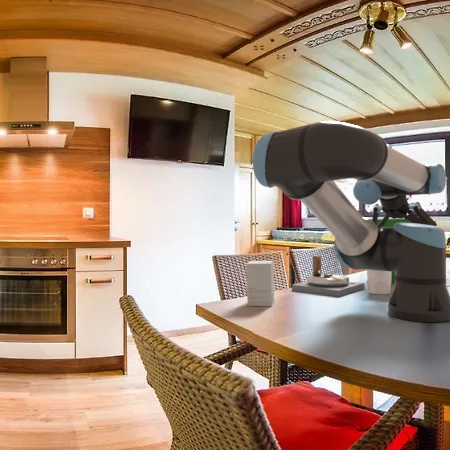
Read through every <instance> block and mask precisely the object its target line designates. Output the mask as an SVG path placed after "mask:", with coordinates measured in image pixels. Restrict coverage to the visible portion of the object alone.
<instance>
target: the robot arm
mask: <svg viewBox="0 0 450 450" xmlns="http://www.w3.org/2000/svg"><path fill="white" fill-rule="evenodd" d="M252 153H253V154H252V158H251V160H252V169H253V173H254V176H255V178H256V180H257V181H258V184H260V185H261V186H263V187H266V188H269V189H270V188H271V189H272V188H273V187H276V188H278V189H279V190H280V191H281V192H282V193H283V194H284V195H285V196H286V197H287V198H289V199H290V200H295V201H301V203H302V204H303V205H304V206H305V207H306V208H307V210H308V211H310V212H311V214H313V215H314V217H315V218H316V219H317V220H318V221H319V222H320V223H321V224H322V225H323V226H324V228H326V230H327V231H328V232H329V233H331V235H332V236H333V237H334V242H333V250H334V253H336V254H335V256H336V259H337V261H338V262H339V263H340V265H342V266H343V267H345V268H350V269H353V270H357V271H358V270H366V271H367V270H379V271H392V272H395V283H394V286H393V289H392V291H391V294H390V299H389V300H388V304H387V307H388V308H387V310H388V311H387V312H388V315H390V316H391V317H394V318H397V319H401V320H405V321H413V322H421V323H444V322H450V293H449V291H448V287H447V243H446V233H445V231H444V230H443V228H442V227H439V226H438V224H437V222H436V221H435V220H434V219H433V218H432V217H431V216H430V215H429V214H428V212H426V211H425V210H424V209H423V208H422V206H421V203H420V202H419V201H417V202H415V203H413V204H410V202H408V198H407V196H418V195H429V196H430V195H432V194H433V195H434V194H441V193H442V192H443V191H444V190H445V188H446V185H447V184H446V183H447V177H446V170H445V167H444V165H442V164H440V163H429V164H422V163H420V162H418V161H417V160H415V159H414V158H411V157H409V156H407V155H405V154H404V153H401V152H400V151H397V150H396V149H394V148H393V147H392V145H390V144H388V143H387V142H386V141H385V139H384V138H383V137H381V136H380V135H379V134H377V133H375V132H373V131H372V130H369V129H367V128H364V127H361V126H359V125H354V124H352V123H351V124H350V123H347V122H340V121H335V120H323V121H318V122H317V121H316V122H314V123H309V124H305V125H302V126H296V127H290V128H288V129H283V130H278V129H277V130H274V131H273V132H269V133H266V134H263V135H262V136H261V137H259V138H258V140H257V141H256V144H255V145H254V149H253V152H252ZM346 179H354V180H356V182H355V184H354V187H353V189H352V190H353V191H352V192H353V196H354V198H355V199H356V201H358V202H359V203H361V204H363V205H369V206H370V205H374V206H373V208H372V212H373V216H372V219H370V218H368V217H365V216H362V214H360V212H359V211H358V210H357V208H355V206H354V205H353V203H351V201H350V200H349V198H348V197H347V196H346V194H345V193H344V191H342V190H341V188H340V187H339V186H338V184H337V183H336V182H335V181H339V180H346ZM378 201H380V204H378V203H377V202H378ZM381 212H383V213H384V214H385V215H384V216H383V218H381V219H382V221H381V222H380V223H379V225H376V223H377V219H379V215H380V213H381ZM388 219H406V220H409V221H411V222H412V223H395V224H394V226H393V228H382V227H383V225H384V224H385V223H386V221H387V220H388Z"/></svg>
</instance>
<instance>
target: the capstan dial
mask: <svg viewBox="0 0 450 450" xmlns="http://www.w3.org/2000/svg"><path fill="white" fill-rule="evenodd" d="M307 281H308V284H311V285H316V286H345V285H348V284H349V281H350V276H347V275H342V274H332V273H323V274H322V255H312V274H311V275H309V276H307Z"/></svg>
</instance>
